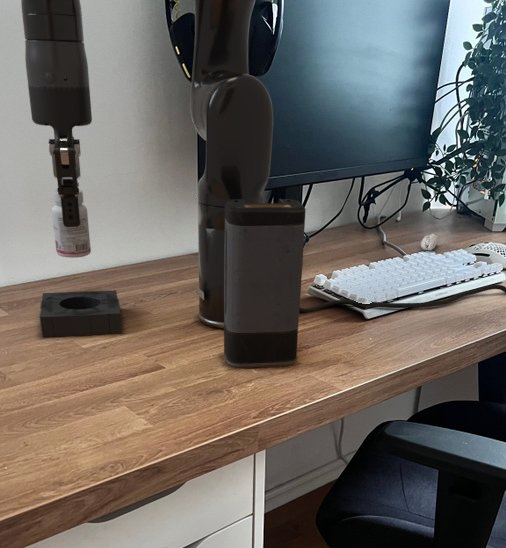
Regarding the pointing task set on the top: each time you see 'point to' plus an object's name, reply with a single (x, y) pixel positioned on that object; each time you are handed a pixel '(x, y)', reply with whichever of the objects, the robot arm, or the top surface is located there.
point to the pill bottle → (71, 230)
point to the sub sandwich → (429, 242)
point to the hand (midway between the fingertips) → (71, 221)
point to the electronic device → (262, 282)
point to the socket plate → (80, 313)
